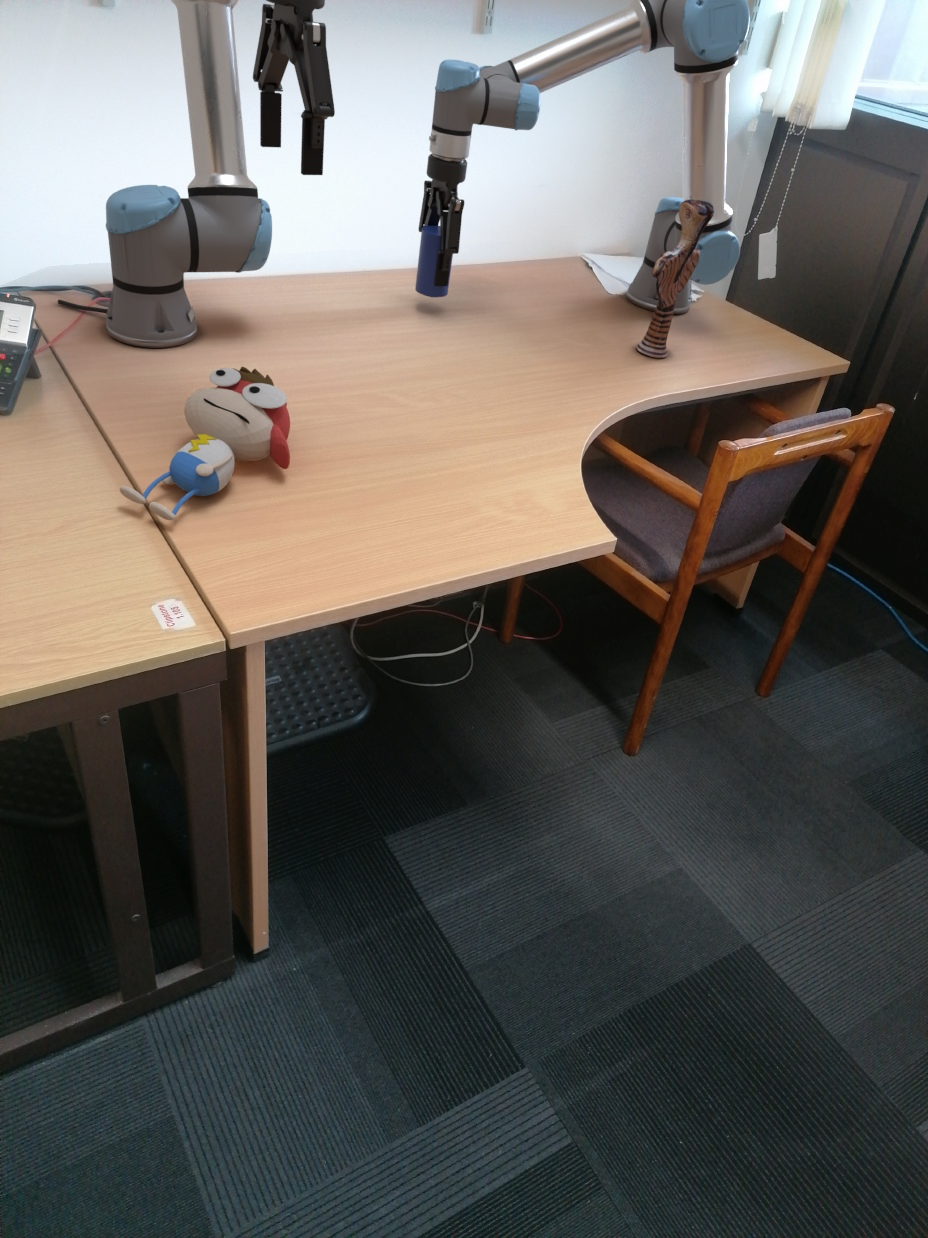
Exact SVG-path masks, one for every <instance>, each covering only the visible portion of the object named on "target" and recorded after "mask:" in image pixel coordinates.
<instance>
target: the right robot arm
mask: <svg viewBox="0 0 928 1238" xmlns="http://www.w3.org/2000/svg"><path fill="white" fill-rule="evenodd" d="M750 15H751V14H750V7H749V4H748V1H747V0H630V2H629V4H628V6H627V7H624V8H623V9H620V10H618V11H615V12H614V13H611V14H609V15H606V16H605V17H602V18H600V19H597V20H595V21H593V22H591V23H589V24H586V25H584V26H582V27H579V28H578V29H575V30H573V31H571V32H568V33H566V34H564V35H562V36H560V37H557V38H554V39H553V40H551V41H549V42H546V43H544V44H542V45H539V46H537V47H535V48H532V49H530V50H528V51H525V52H524V53H521V54H519V55H516V56H515V57H513V58H510V59H508V60H506V61H503V62H500V63H499V64H496V65H482V66H479V65H477V64H476V63H473V62H470V61H464V60H461V59H445V60H444V59H443V60H442V61H441V62H440V63H439V65H438V70H437V76H436V77H437V78H436V82H435V83H436V84H435V87H434V90H435V91H434V92H435V93H434V103H433V111H432V121H431V122H432V123H431V130H430V135H429V136H428V140H429V148H428V149H429V153H430V154H429V155H428V157H427V165H426V176H427V177H428V178H429V179H431V180H424V182H423V198H422V203H421V210H420V217H419V223H418V232H419V233H421V232H422V227H423V226H427V225H437V226H440V238H441V251H437V252H438V258H437V266H436V274H435V282H434V285H435V286H448V280H449V272H450V265H451V257H452V254H453V255H455V254H457V255H458V254H459V252H460V240H461V231H462V221H463V220H462V218H463V212H464V208H465V199H461V198H459V193H458V185H459V184H462V183H464V182H465V181H466V176H467V170H468V169H467V168H468V161H467V158H469V156H470V150H471V149H470V148H471V140H472V132H473V125H477V126H488V127H496V128H500V129H501V128H502V129H510V130H514V131H531V130H532V129H534V127H535V126H536V125H537V122H538V119H539V116H540V111H541V94H542V93H544V92H546V91H549V90H551V89H553V88H556V87H557V86H560V85H562V84H565V83H567V82H569V81H571V80H574V79H576V78H578V77H581V76H583V75H586V74H587V73H590V72H593V71H594V70H596V69H599V68H601V67H603V66H606V65H608V64H610V63H613V62H615V61H617V60H620V59H622V58H624V57H626V56H629V55H631V54H634V53H636V52H638V51H639V52H641V53H643V54H647V53H650V52H652V51H655V50H658V49H662V48H673V71H674V73H675V74H676V75H677V76H678V77H679V78H680V79H681V81H682V86H681V87H682V89H681V90H682V91H681V92H682V94H681V95H682V98H681V99H682V101H681V102H682V103H681V104H682V197H675V196H665V197H663V198H661V199H660V200H659V201H658V204H657V207H656V210H655V212H654V217H653V221H652V225H651V229H650V233H649V236H648V241H647V245H646V249H645V253H644V256H643V261H642V263H641V266H640V268H639V269H638V271H637V272H636V275H635V276H634V278H633V280H632V281H631V283H630V284H629V286H628V288H627V292H626V299H627V300H628V301H629V302H631V303H632V304H633V305H635V306H637V307H639V308H642V309H645V310H646V311H647V310H648V311H651V312H654V311H655V309H656V307H657V304H658V302H659V298H658V296H657V290H656V282H657V278H654V277H653V275H652V271H653V269H654V265H655V263H656V262H657V260H658V259H660V256H661V255H662V254H663V253H664V252H665V251H670V252H672V251H673V250H674V248H675V247H677V246H678V244H679V242H680V238H681V231H682V228H681V222H680V218H679V207H680V204H681V203H682V202H683V201H685V200H691V199H693V200H701V201H707V202H709V203H711V204H712V205H713V207H714V214H713V217H712V219H711V220H710V221H709V223H708V224H707V226H706V227H705V229H704V230H703V232H702V234H701V235H700V237H699V240H698V243H697V245H696V248H698V249H699V251H700V256H699V263H698V264H697V266H696V268H695V269H694V271H693V273H692V275H691V277H690V278H689V280H688V282H687V284H686V286H685V287H684V289H683V290H682V291H681V292H678V293H677V298H676V301H675V305H674V312H673V315H681V314H685V313H688V312H689V311H690V308H691V305H692V301H693V297H692V281H693V282H694V283H696V284H699V285H704V286H707V285H713V284H716V283H719V282H721V281H722V280H724V279H725V278H726V277H727V276H729V274H730V273H731V271H733V270H734V269H735V267H736V265H737V264H738V261H739V259H740V254H741V244H740V241H739V239H738V237H737V236H736V234H734V233H733V209H732V208H731V207H730V206H729V205H728V204H727V203H726V188H727V186H726V185H727V157H728V155H727V154H728V153H727V150H728V124H729V123H728V121H729V117H728V116H729V83H730V73H731V72H732V70H733V69H734V68H735V67H736V66H737V64H738V62H739V50H740V49H741V46H742V45H743V43H744V42H745V41H746V38H747V36H748V32H749V28H750V20H751V16H750ZM451 266H452V265H451ZM449 281H450V280H449Z"/></svg>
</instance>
